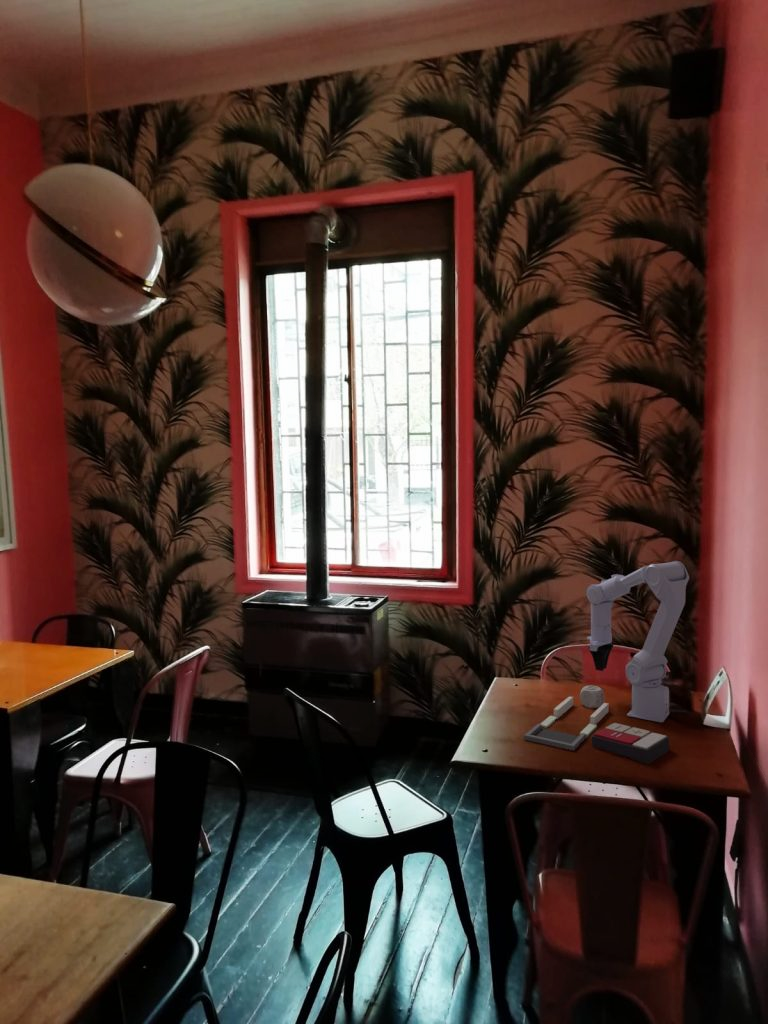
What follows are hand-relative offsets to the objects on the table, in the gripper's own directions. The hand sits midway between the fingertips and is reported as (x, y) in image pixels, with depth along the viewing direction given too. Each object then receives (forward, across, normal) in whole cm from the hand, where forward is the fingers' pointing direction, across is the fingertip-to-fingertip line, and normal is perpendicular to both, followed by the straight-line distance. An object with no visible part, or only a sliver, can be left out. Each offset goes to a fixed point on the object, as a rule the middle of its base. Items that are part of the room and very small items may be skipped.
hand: (600, 669), depth 211 cm
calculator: (+9, +32, +18) cm, 38 cm away
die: (+9, +8, 0) cm, 12 cm away
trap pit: (+8, +36, 0) cm, 37 cm away
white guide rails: (+8, +17, 0) cm, 19 cm away
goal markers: (+8, +27, 0) cm, 28 cm away
